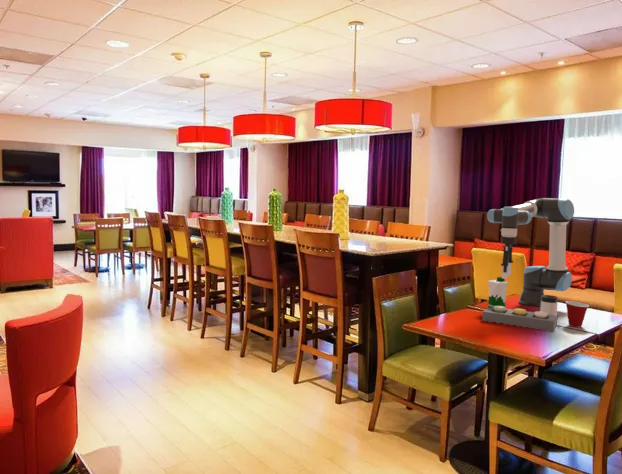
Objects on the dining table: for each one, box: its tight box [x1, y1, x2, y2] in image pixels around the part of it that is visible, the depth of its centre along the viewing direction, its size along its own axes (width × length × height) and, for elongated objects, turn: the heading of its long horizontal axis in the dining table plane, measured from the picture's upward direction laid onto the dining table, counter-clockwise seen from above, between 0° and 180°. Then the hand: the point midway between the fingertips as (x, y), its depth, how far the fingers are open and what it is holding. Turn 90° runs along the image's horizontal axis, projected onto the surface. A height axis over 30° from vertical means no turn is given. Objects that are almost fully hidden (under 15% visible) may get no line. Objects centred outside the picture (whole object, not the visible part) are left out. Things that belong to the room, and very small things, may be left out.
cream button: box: [533, 310, 548, 318], centre depth 252 cm, size 6×6×2 cm
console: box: [481, 306, 559, 332], centre depth 258 cm, size 14×34×5 cm, turn 57°
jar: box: [539, 294, 559, 316], centre depth 268 cm, size 9×8×12 cm
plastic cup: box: [565, 300, 590, 328], centre depth 254 cm, size 11×11×12 cm
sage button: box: [494, 306, 507, 312], centre depth 263 cm, size 6×6×2 cm
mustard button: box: [513, 307, 527, 315], centre depth 257 cm, size 6×6×2 cm
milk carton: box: [487, 276, 509, 308], centre depth 278 cm, size 9×9×20 cm
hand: (506, 276), depth 260 cm, fingers open, 13 cm apart
